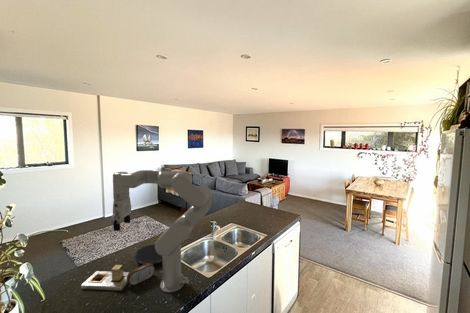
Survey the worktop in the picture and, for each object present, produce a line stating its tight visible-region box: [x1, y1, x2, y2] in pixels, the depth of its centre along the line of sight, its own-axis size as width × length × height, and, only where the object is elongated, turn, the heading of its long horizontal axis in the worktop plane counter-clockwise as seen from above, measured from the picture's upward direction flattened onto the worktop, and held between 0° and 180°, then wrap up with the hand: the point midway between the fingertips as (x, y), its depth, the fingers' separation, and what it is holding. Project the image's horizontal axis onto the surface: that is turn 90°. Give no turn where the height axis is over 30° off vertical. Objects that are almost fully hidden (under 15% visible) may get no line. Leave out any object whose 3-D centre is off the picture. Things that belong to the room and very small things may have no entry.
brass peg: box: [111, 264, 124, 283], centre depth 122 cm, size 4×4×9 cm
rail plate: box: [80, 270, 130, 291], centre depth 123 cm, size 22×12×2 cm, turn 87°
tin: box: [127, 263, 156, 286], centre depth 123 cm, size 15×3×8 cm, turn 135°
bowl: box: [133, 243, 163, 266], centre depth 145 cm, size 22×22×5 cm
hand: (122, 226), depth 119 cm, fingers open, 9 cm apart
